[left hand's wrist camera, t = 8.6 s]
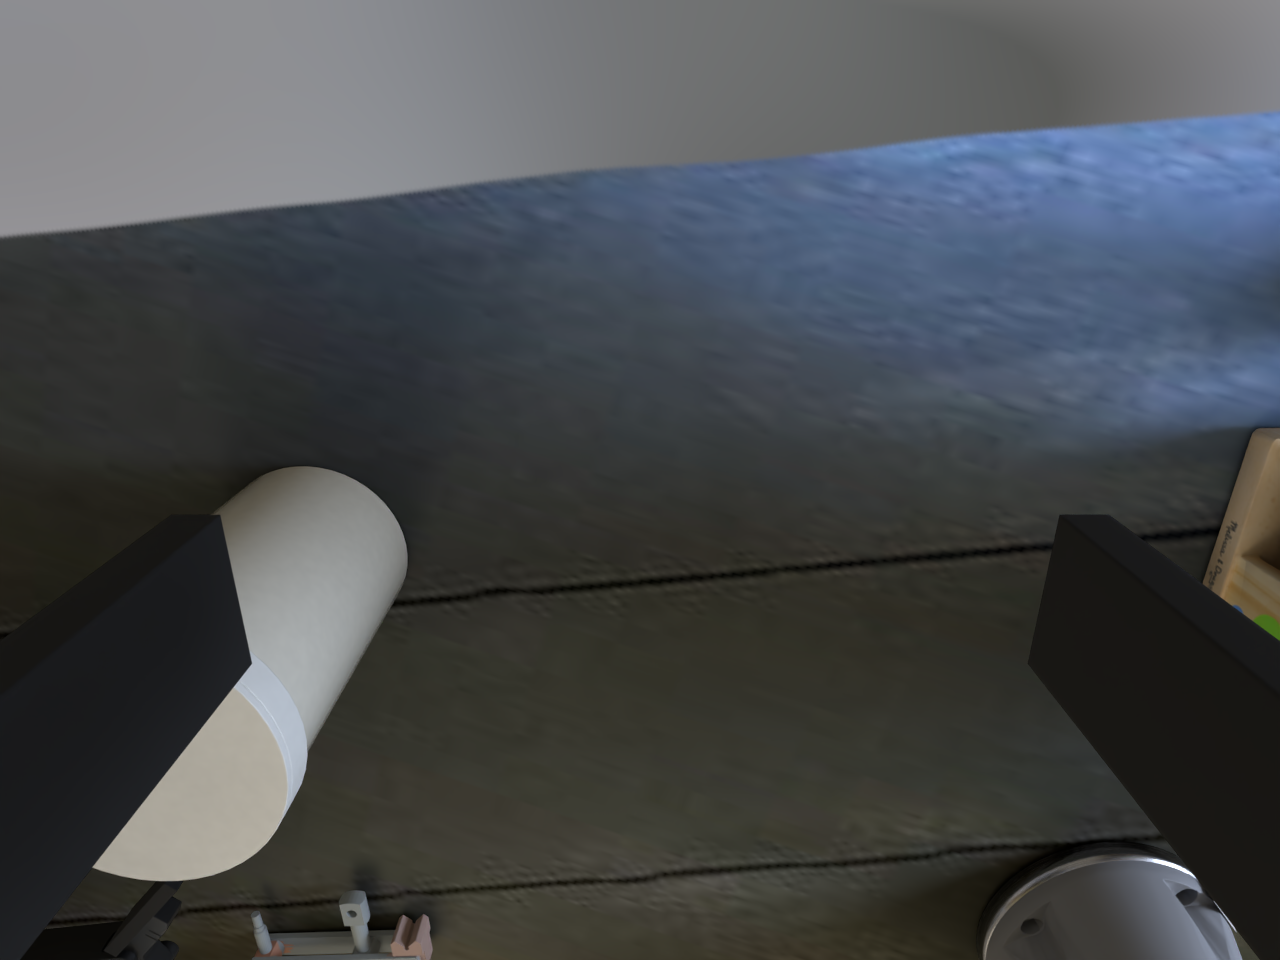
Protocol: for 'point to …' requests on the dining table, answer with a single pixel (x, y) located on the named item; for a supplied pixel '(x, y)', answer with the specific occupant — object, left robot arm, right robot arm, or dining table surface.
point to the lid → (219, 789)
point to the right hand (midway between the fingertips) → (67, 798)
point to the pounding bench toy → (1252, 537)
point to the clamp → (348, 938)
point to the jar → (312, 578)
